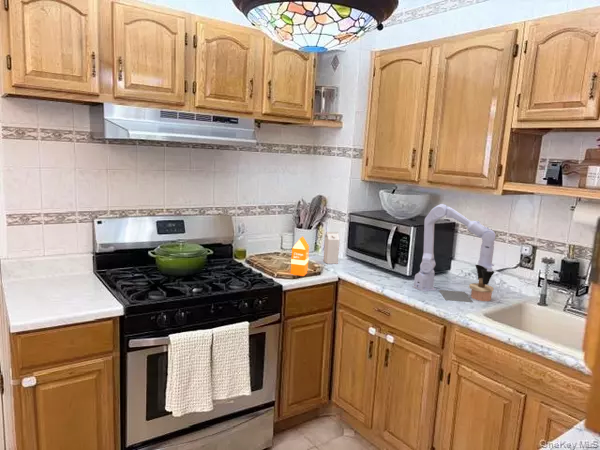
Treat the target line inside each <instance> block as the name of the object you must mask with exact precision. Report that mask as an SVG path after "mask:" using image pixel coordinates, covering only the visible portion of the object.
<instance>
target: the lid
mask: <svg viewBox="0 0 600 450" xmlns="http://www.w3.org/2000/svg"><path fill="white" fill-rule="evenodd" d="M468 288H469V289H470V290H471V291H472V290H475V291H479V292H492V293H493V292H494V290H495V289H494V287H493V286H491V285H489V284H488V285H485V284H483V278H479V280H478V282H475V283H470V284H469V286H468Z"/></svg>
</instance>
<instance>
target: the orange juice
mask: <svg viewBox="0 0 600 450" xmlns="http://www.w3.org/2000/svg"><path fill="white" fill-rule="evenodd" d="M309 253H310V245H309V243H307V241H306V239H305V237H304V236H301V237H300V238H299V239H298V240H297V241H296V243H294V245H293V247H292V248H291V259H290V275H291V274H293V276H300V277H305V276H306V275H307V273H308V272H307V271H308V268H309V255H310V254H309Z"/></svg>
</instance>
